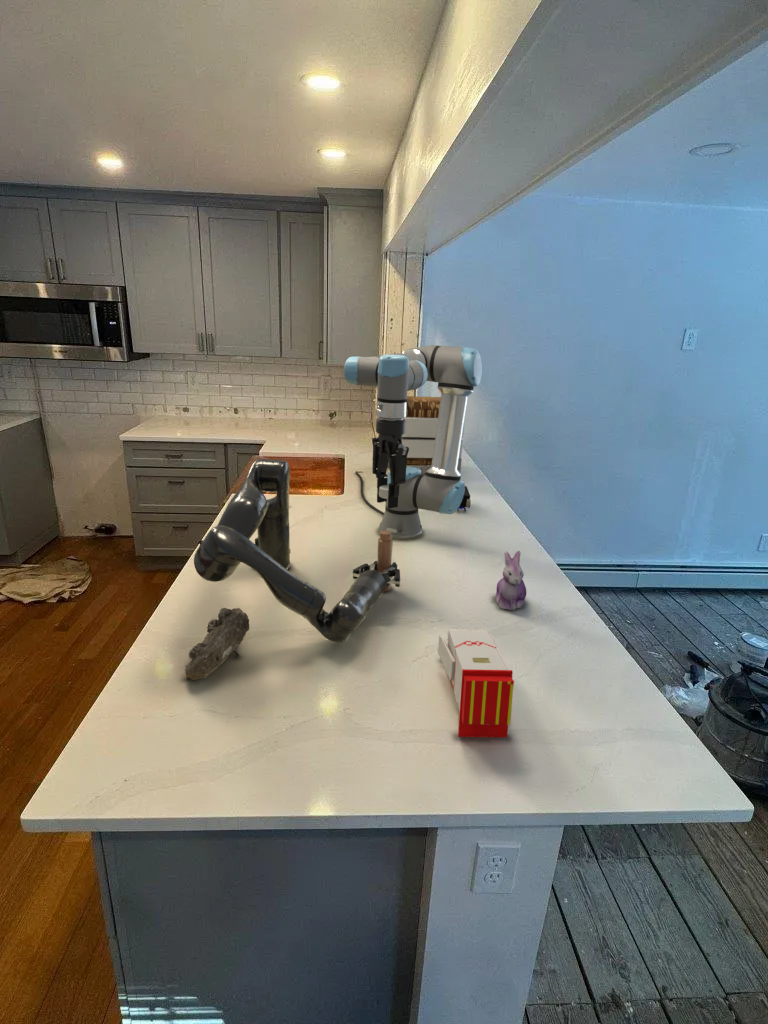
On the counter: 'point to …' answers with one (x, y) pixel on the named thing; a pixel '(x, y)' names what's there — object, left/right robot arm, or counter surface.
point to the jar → (384, 552)
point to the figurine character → (465, 500)
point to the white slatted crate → (422, 430)
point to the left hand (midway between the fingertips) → (387, 564)
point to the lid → (384, 491)
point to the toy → (478, 682)
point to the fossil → (217, 643)
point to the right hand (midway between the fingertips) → (387, 504)
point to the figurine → (511, 584)
